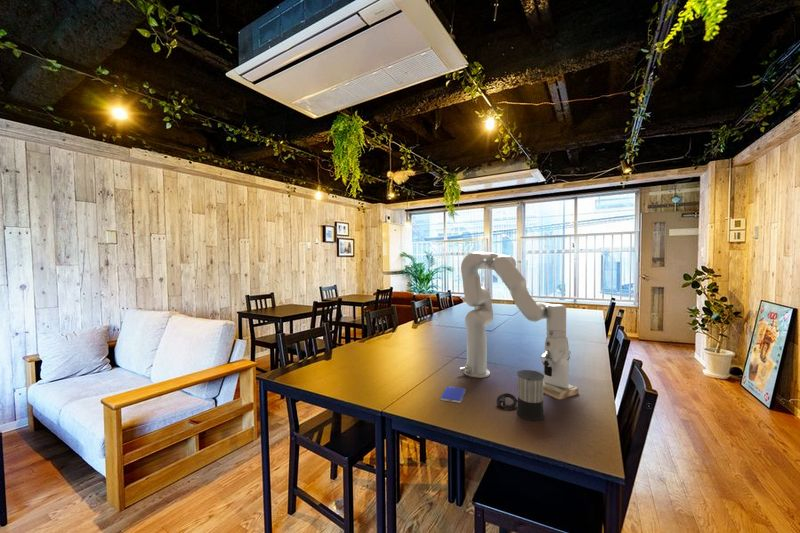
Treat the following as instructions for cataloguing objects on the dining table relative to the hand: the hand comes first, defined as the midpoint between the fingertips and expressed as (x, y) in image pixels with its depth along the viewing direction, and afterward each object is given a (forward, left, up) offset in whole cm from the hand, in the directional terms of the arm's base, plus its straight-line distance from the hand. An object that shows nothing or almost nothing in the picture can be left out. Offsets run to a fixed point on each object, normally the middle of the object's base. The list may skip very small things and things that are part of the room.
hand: (556, 373), depth 135 cm
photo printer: (0, 0, -5) cm, 5 cm away
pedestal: (0, 0, -8) cm, 8 cm away
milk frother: (-27, -6, -8) cm, 29 cm away
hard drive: (-41, +17, -8) cm, 45 cm away
